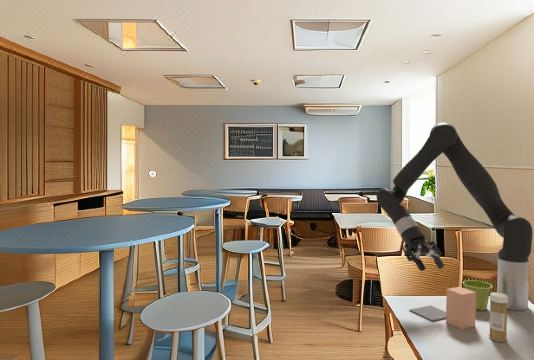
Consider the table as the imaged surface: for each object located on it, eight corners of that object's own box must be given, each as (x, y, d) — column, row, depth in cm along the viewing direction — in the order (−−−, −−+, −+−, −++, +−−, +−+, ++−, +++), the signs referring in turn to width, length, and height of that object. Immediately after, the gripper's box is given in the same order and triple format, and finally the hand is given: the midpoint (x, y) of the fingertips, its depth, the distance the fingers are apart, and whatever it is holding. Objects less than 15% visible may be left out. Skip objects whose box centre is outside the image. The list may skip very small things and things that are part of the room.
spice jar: (509, 340, 112) (511, 295, 111) (502, 344, 109) (503, 298, 109) (493, 334, 116) (494, 290, 115) (485, 338, 113) (486, 293, 113)
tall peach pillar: (459, 319, 127) (459, 286, 127) (475, 326, 121) (476, 292, 121) (445, 321, 125) (446, 288, 124) (461, 329, 119) (462, 294, 119)
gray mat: (430, 306, 138) (430, 305, 138) (454, 316, 129) (454, 315, 129) (409, 310, 134) (409, 309, 134) (432, 321, 125) (432, 320, 125)
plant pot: (482, 314, 131) (482, 289, 131) (456, 305, 139) (457, 282, 139) (497, 309, 136) (498, 285, 135) (471, 301, 144) (472, 278, 144)
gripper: (399, 226, 138) (423, 265, 128) (429, 224, 143) (454, 261, 133) (389, 238, 143) (411, 276, 133) (418, 235, 148) (441, 272, 138)
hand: (432, 268), depth 133 cm, fingers open, 8 cm apart
